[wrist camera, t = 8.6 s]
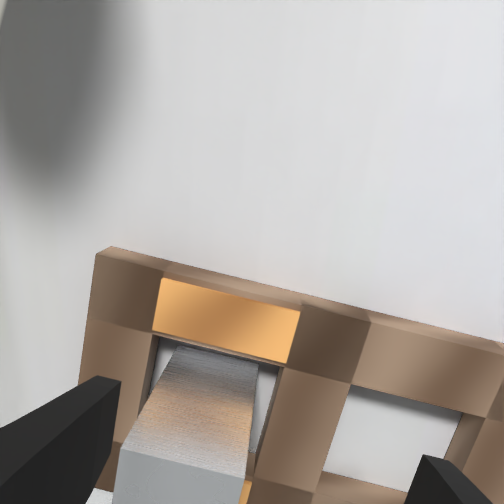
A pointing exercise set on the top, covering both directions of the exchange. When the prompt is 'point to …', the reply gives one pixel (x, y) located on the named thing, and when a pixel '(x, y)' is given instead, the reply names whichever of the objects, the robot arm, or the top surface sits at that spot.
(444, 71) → the top surface
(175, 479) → the steel block
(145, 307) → the socket plate
